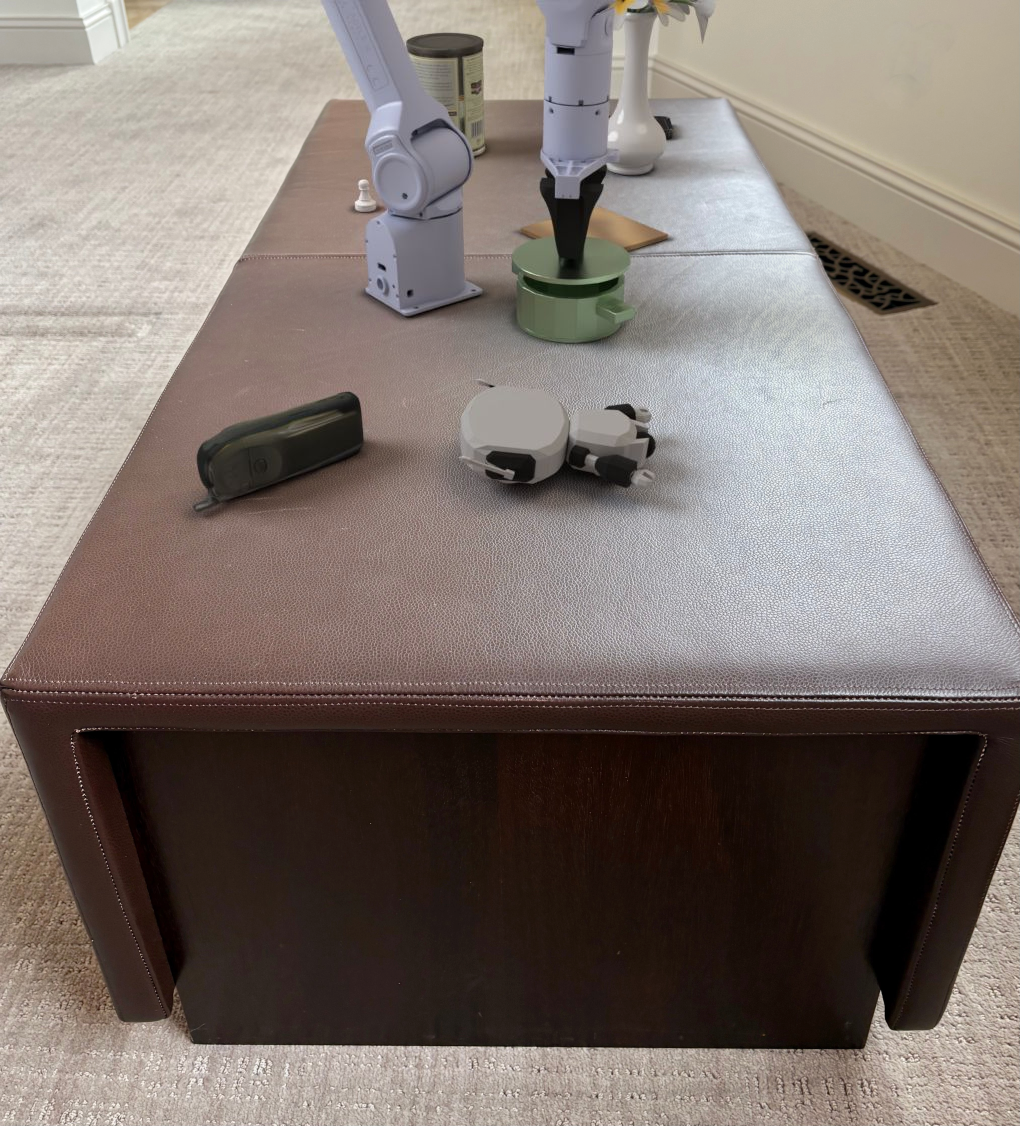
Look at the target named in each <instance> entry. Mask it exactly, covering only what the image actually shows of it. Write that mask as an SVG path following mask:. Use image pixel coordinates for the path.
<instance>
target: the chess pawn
mask: <svg viewBox="0 0 1020 1126" xmlns="http://www.w3.org/2000/svg"><path fill="white" fill-rule="evenodd" d="M357 184H358V190H360V194H359V197H358V199H357V200H355V201H354V209H355V211H357V212H360V213H370V212H373V211H375V210H376V209H377V202H376V200H374V199H372V196H370V193H369V190H370V182H369V181H368V180H367V179H361V180H359V181H358V183H357Z"/></svg>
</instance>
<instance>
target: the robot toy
mask: <svg viewBox="0 0 1020 1126" xmlns="http://www.w3.org/2000/svg"><path fill="white" fill-rule="evenodd" d="M474 381H475V382H476V384H477V385H479V386H482V387H487V389H483V390H482V391H480V392H479V393H478V394H476V395H475V396H474V397H473V398H471V399H470V401H469V402H468V403H467V405H466V407H465V408H464V410H463V412H462V414H461V416H460V427H459V428H460V429H459V443H460V452H461V456H458V457H457V458H458V459H459V461H460V462H461V463H463V464H466V465H467V466H468V467H469V469H471V470H472V471H473V472H474V473H476V474H477V475H479V476H481V478H483V479H485V480H493V481H497V482H501V483H502V484H517V483H523V484H535V483H537V482H540V481H543V480H545V479H547V478H549V477H551V476H553V475H554V474H555V473H557V472H558V471H559V470H560V469H561V467H562V465H563V464H564V462H565V460H566V462H567V463H568V465H569V466H570V467H571V468H572V469H574V470H578V471H583V472H587V473H593V474H594V475H595V476H596V477H601V478H602V479H603V480H604V481H605V482H607V483H610V484H613V485H616V486H618V487H621V488H623V489H628V488H629V487H630V486H632V485H634V486H635V488H638V489H645V490H647V489H649V488H651V487H652V485H653V484H654V483H655V482H656V475H655V473H654V472H652V471H650V470H649V469H641V468H643V466H644V465H645V464H646V459H648V458H650V457H651V456H653V454H654V453H655V451H656V448H657V445H656V443H657V442H656V440H655V438H654V436H653V435H651V434H650V433H649V426H647V425H646V424H647V423H649V422H650V421H651V420H652V416H653V415H652V413H651V412H649V409H647V408H646V407H644V406H634V407H633V406H632V404H630V403H619V404H612V405H607V406H606V407H605V408H603V409H599V408H598V409H597V408H596V409H595V408H592V409H591V408H590V409H589V408H588V409H585V408H584V409H578V410H577V411H575V412H574V413H571V415H570V417H569V414H568V411H567V410H566V407H565V406H564V405H563V403H562V402H561V401H560V400H559V399H558V398H557V397H555V396H554V395H553V394H550V393H549V392H547V391H546V390H544V389H539V388H529V387H521V386H519V387H518V386H508V385H499V384H498V385H497V384H494V383H491V382H488V381H487V380H485V379H482V378H477V379H474Z"/></svg>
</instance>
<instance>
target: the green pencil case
mask: <svg viewBox="0 0 1020 1126" xmlns="http://www.w3.org/2000/svg"><path fill="white" fill-rule="evenodd" d="M361 405H362V404H361V401H360V398H359V397H358V396H357V394H355V393H354V392H351V391H342V392H339V393H336V394H333V395H331V396H327V397H324V398H321V399H317V400H314V401H310V402H305V403H302V404H299V405H296V406H294V407H291V408H288V409H285V410H282V411H278V412H276V413H271V414H267V415H263V416H260V417H256V418H253V419H250V420H243V421H240V422H238V423H235V424H232V425H229V426H227V427H224V428H223V429H222V430H221V431H220V432H218V433H216V434H214V435H213V436H211V437H210V438H207V439H206V440H204V441H203V442H202V443H201V444H200V445H199V448H198V450H197V453H196V466H197V470H198V475H199V478H200V479H199V480H200V481H201V484H202V485H203V486H204V487H205V488H206V490H207V493H208V494H207V495H208V496H207V497H206V498H205V499H203V500H201V501H199V502H197V503H194V504H193V506H192V507H193V510H194V511H195V513H200V512H203V511H205V510H207V509H210V508H212V507H215V506H217V505H220V504H222V503H224V502H227V501H229V500H232V499H234V498H237V497H240V496H244V495H246V494H249V493H251V492H254V491H257V490H260V489H263V488H266V487H269V486H272V485H274V484H277V483H279V482H281V481H284V480H286V479H289V478H293V477H295V476H298V475H302V474H306V473H307V472H311V471H313V470H316V469H319V468H321V467H324V466H326V465H327V466H328V465H330V464H332V463H335V462H337V461H341V460H343V459H346V458H350V457H351V456H353V455H354V454H356V453H357V452H359V451H360V450H361V449H362V448H363V446H364V443H365V439H364V436H365V435H364V424H363V413H362V406H361Z"/></svg>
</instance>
